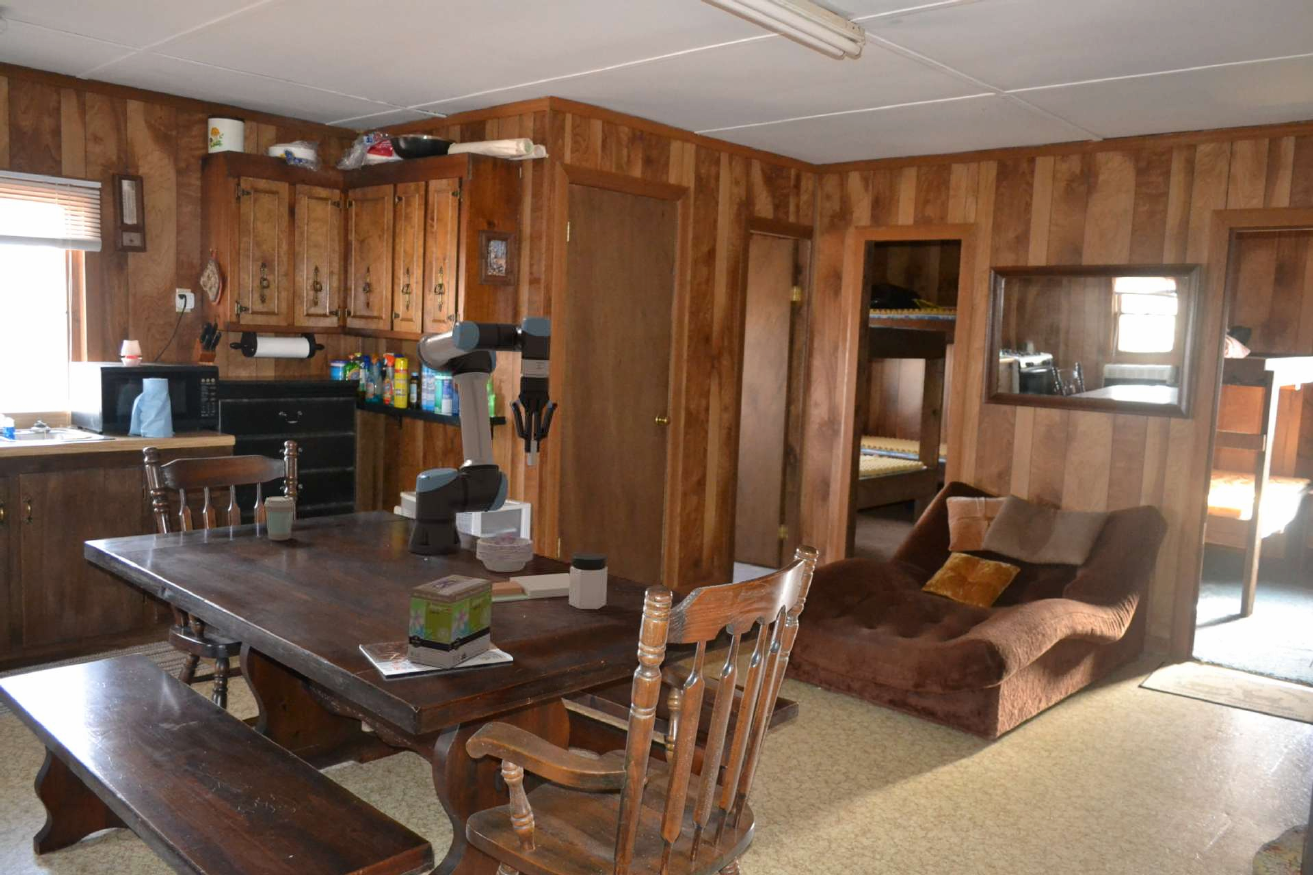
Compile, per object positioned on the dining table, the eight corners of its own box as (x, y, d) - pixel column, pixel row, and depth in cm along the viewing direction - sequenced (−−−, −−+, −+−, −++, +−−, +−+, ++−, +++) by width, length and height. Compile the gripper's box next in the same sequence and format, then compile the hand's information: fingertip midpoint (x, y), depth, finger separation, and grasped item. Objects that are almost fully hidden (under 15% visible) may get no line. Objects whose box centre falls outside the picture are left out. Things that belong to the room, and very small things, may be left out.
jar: (580, 598, 254) (582, 550, 253) (610, 603, 251) (612, 554, 250) (563, 606, 246) (565, 557, 244) (594, 611, 243) (596, 561, 241)
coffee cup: (288, 542, 301) (288, 501, 300) (259, 540, 301) (259, 500, 300) (298, 536, 309) (299, 496, 308) (270, 535, 309) (270, 495, 308)
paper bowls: (515, 560, 292) (516, 532, 291) (542, 572, 280) (543, 543, 279) (466, 565, 283) (467, 537, 282) (492, 577, 270) (493, 547, 270)
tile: (479, 590, 255) (479, 584, 255) (513, 587, 260) (514, 581, 260) (487, 596, 250) (488, 590, 250) (522, 593, 255) (522, 587, 254)
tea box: (450, 670, 197) (452, 594, 195) (406, 662, 200) (408, 587, 199) (491, 649, 211) (493, 578, 209) (449, 642, 214) (451, 572, 213)
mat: (450, 589, 257) (450, 587, 256) (507, 584, 264) (507, 583, 264) (469, 604, 243) (469, 602, 243) (529, 599, 251) (529, 597, 251)
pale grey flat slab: (509, 585, 263) (509, 577, 263) (567, 580, 271) (567, 573, 271) (529, 598, 251) (530, 590, 251) (589, 593, 259) (589, 585, 259)
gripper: (516, 376, 265) (513, 467, 268) (563, 377, 271) (559, 466, 274) (506, 374, 272) (503, 463, 274) (552, 375, 278) (548, 462, 280)
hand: (531, 464), depth 274 cm, fingers closed
